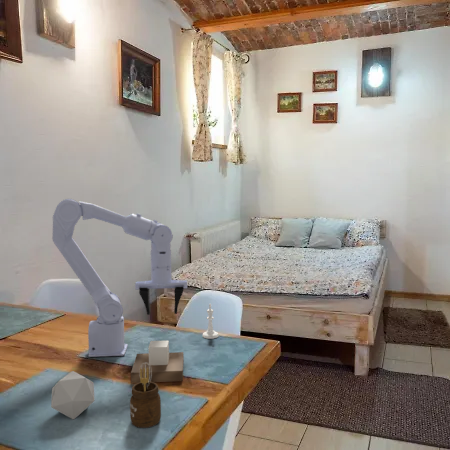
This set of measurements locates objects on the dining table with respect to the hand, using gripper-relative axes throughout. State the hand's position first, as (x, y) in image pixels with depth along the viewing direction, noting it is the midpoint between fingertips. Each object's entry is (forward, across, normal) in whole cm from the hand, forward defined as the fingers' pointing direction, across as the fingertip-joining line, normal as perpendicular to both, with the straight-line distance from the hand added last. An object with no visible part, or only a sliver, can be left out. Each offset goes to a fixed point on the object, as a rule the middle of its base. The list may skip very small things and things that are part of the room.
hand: (162, 313), depth 131 cm
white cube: (+7, 0, -18) cm, 19 cm away
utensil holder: (+10, -1, -42) cm, 43 cm away
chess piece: (+10, +14, +7) cm, 18 cm away
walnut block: (+10, 0, -18) cm, 21 cm away
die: (+10, -16, -38) cm, 42 cm away
